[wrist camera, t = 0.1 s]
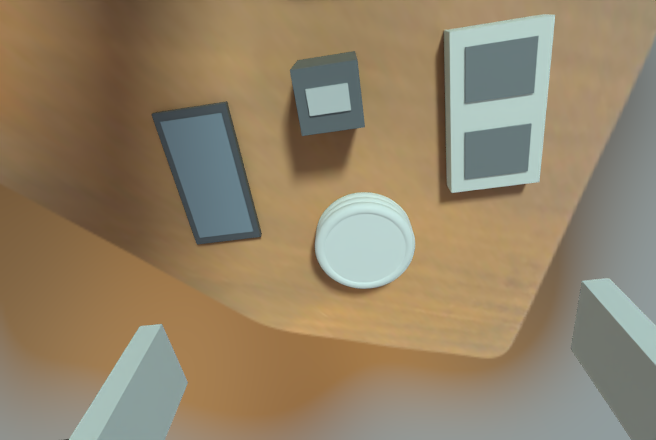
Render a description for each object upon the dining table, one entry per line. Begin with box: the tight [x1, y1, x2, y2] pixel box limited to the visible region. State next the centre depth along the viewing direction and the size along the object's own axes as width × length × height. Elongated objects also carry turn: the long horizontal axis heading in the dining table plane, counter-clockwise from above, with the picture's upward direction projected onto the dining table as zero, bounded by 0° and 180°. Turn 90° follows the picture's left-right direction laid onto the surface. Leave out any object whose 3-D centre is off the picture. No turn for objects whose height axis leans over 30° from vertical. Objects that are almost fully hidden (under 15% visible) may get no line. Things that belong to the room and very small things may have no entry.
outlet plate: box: [444, 14, 555, 193], centre depth 36 cm, size 14×8×2 cm, turn 9°
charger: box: [290, 51, 365, 136], centre depth 34 cm, size 5×5×6 cm
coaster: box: [315, 192, 415, 289], centre depth 42 cm, size 10×10×4 cm
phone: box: [152, 102, 262, 244], centre depth 41 cm, size 14×7×1 cm, turn 9°
